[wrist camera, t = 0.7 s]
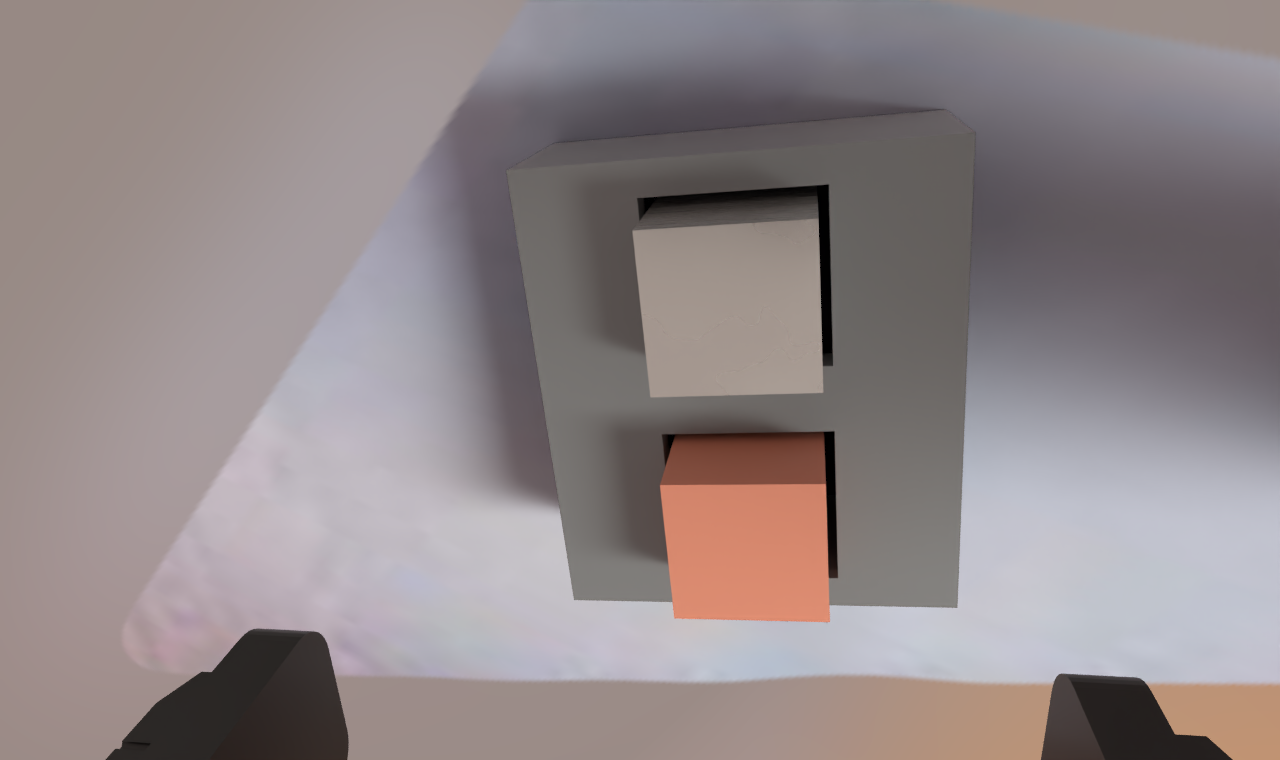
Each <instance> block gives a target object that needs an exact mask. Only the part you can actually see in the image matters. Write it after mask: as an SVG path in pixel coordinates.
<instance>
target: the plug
mask: <svg viewBox="0 0 1280 760" xmlns="http://www.w3.org/2000/svg"><path fill="white" fill-rule="evenodd" d="M632 232H633V241H634V251H635V260H636V269H637V278H638V287H639V297H640V306H641V315H642V324H643V333H644V343H645V352H646V361H647V370H648V380H649V389H650V397H686V396H724V395H763V394H801V393H823V361H822V325H821V290H820V254H819V218H818V200H817V185H813V186H799V187H785V188H771V189H757V190H743V191H729V192H715V193H701V194H687V195H673V196H659V197H657V199H656V200H655V201H654V203H653V204H652V205H651V207H650V208H649V209H648V211H647V212H646V213H645V215H644V216H643V217H642V219H641V220H640V221H639V223H638V224H637V225H636V226H635V228H634V229H633V230H632Z"/></svg>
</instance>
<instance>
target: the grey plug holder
mask: <svg viewBox="0 0 1280 760" xmlns="http://www.w3.org/2000/svg"><path fill="white" fill-rule="evenodd" d="M974 157H975V132H974V131H973V130H972V129H970V128H969V127H968V126H967V125H965V124H964V123H963V122H961V121H960V120H959V119H958V118H956V117H955V116H954V115H953V114H951V113H950V112H949V111H947V110H934V111H922V112H911V113H899V114H887V115H876V116H864V117H852V118H841V119H829V120H818V121H806V122H794V123H783V124H771V125H759V126H748V127H736V128H724V129H713V130H701V131H689V132H678V133H666V134H655V135H643V136H631V137H620V138H608V139H596V140H585V141H573V142H561V143H553V144H552V145H550V146H548V147H546V148H544V149H543V150H541V151H539V152H537V153H536V154H534V155H532V156H530V157H528V158H527V159H525V160H523V161H521V162H520V163H518V164H516V165H514V166H512V167H511V168H509V169H507V170H506V174H507V180H508V187H509V193H510V199H511V205H512V212H513V218H514V224H515V231H516V237H517V243H518V249H519V256H520V262H521V268H522V275H523V281H524V287H525V294H526V300H527V306H528V312H529V319H530V325H531V331H532V338H533V344H534V350H535V356H536V363H537V369H538V375H539V382H540V388H541V394H542V400H543V407H544V413H545V419H546V426H547V432H548V438H549V445H550V451H551V457H552V463H553V470H554V476H555V482H556V489H557V495H558V501H559V507H560V514H561V520H562V526H563V533H564V539H565V545H566V551H567V558H568V564H569V570H570V577H571V583H572V589H573V596H574V600H603V601H652V602H673V601H672V592H671V582H670V573H669V564H668V555H667V545H666V536H665V527H664V518H663V509H662V499H661V490H660V483H661V480H662V477H663V473H664V470H665V467H666V464H667V460H668V457H669V454H670V448H669V439H668V434H711V433H768V432H825V431H834V448H835V491H836V495H826V504H827V540H828V576H829V605H849V606H898V607H947V608H957V604H958V577H959V551H960V525H961V499H962V472H963V446H964V420H965V393H966V367H967V341H968V315H969V288H970V262H971V236H972V209H973V183H974ZM827 184H828V192H829V234H830V277H831V320H832V353H822V361H823V393H801V394H763V395H724V396H686V397H650V389H649V380H648V370H647V361H646V352H645V343H644V333H643V324H642V315H641V306H640V297H639V287H638V278H637V269H636V260H635V251H634V241H633V232H632V230H633V229H634V228H635V226H636V225H637V224H638V223H639V221H640V220H641V219H642V217H643V216H644V215H645V203H644V198H646V197H659V196H673V195H687V194H701V193H715V192H729V191H743V190H757V189H771V188H785V187H799V186H813V185H827Z"/></svg>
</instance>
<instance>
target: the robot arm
mask: <svg viewBox="0 0 1280 760" xmlns="http://www.w3.org/2000/svg"><path fill="white" fill-rule="evenodd" d="M347 757H348V732H347V727H346V723H345V718H344V714H343V710H342V705H341V701H340V697H339V693H338V688H337V683H336V679H335V675H334V670H333V666H332V662H331V657H330V653H329V649H328V645H327V642H326V640H325V638H324V637H323V636H322V635H321V634H320V633H318V632H313V631H294V630H275V629H253V630H250V631H249V632H247V633H246V634H244V636H243V637H242V638H241V639H240V640H239V641H238V642H237V643H236V644H235V646H234V647H233V648H232V649H231V650H230V651H229V653H228V654H227V655H226V656H225V657H224V658H223V660H222V661H221V662H220V663H219V664H218V665H217V667H216V668H215V669H214V670H213V671H212V672H201V673H199V674H198V675H196V676H195V677H193V678H192V679H190V680H189V681H188V682H186V683H185V684H183V685H182V686H180V687H179V688H177V689H176V690H175V691H173V692H172V693H170V694H169V695H167V696H166V697H164V698H163V699H162V700H160V701H159V702H157V703H156V704H155V705H154V706H153V707H152V708H151V710H150V711H149V712H148V713H147V714H146V715H145V716H144V717H143V718H142V720H141V721H140V722H139V723H138V724H137V725H136V726H135V727H134V729H133V730H132V731H131V732H130V733H129V734H128V735H127V736H126V738H125V739H124V740H123V741H122V747H121V748H120V749H115V750H114V751H113V752H112V753H111V754H110V755H109V756H108V758H107V759H106V760H347ZM1041 760H1232V759H1231V758H1230V757H1229V756H1228V755H1227V754H1226V753H1224V752H1223V751H1222V750H1221V749H1220V748H1219V747H1218V746H1217V745H1215V744H1214V743H1213V742H1212V741H1211V740H1210V739H1209V738H1207V737H1206V736H1191V735H1175V734H1174V732H1173V730H1172V728H1171V726H1170V725H1169V723H1168V721H1167V719H1166V717H1165V715H1164V714H1163V712H1162V710H1161V708H1160V706H1159V705H1158V703H1157V701H1156V699H1155V697H1154V695H1153V694H1152V692H1151V690H1150V689H1149V687H1148V685H1147V684H1146V683H1145V682H1144V681H1143V680H1141V679H1140V678H1134V677H1115V676H1096V675H1078V674H1059V675H1058V676H1057V677H1056V679H1055V681H1054V684H1053V688H1052V694H1051V700H1050V706H1049V713H1048V719H1047V725H1046V732H1045V738H1044V744H1043V751H1042V757H1041Z"/></svg>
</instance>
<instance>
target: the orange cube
mask: <svg viewBox="0 0 1280 760" xmlns="http://www.w3.org/2000/svg"><path fill="white" fill-rule="evenodd" d="M660 490H661V499H662V509H663V518H664V527H665V536H666V545H667V555H668V564H669V573H670V582H671V592H672V601H673V610H674V618H681V619H722V620H764V621H806V622H830V612H829V576H828V540H827V504H826V473H825V448H824V432H768V433H711V434H675V437H674V440H673V444H672V447H671V450H670V454H669V457H668V460H667V464H666V467H665V470H664V473H663V477H662V480H661V483H660Z"/></svg>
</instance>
